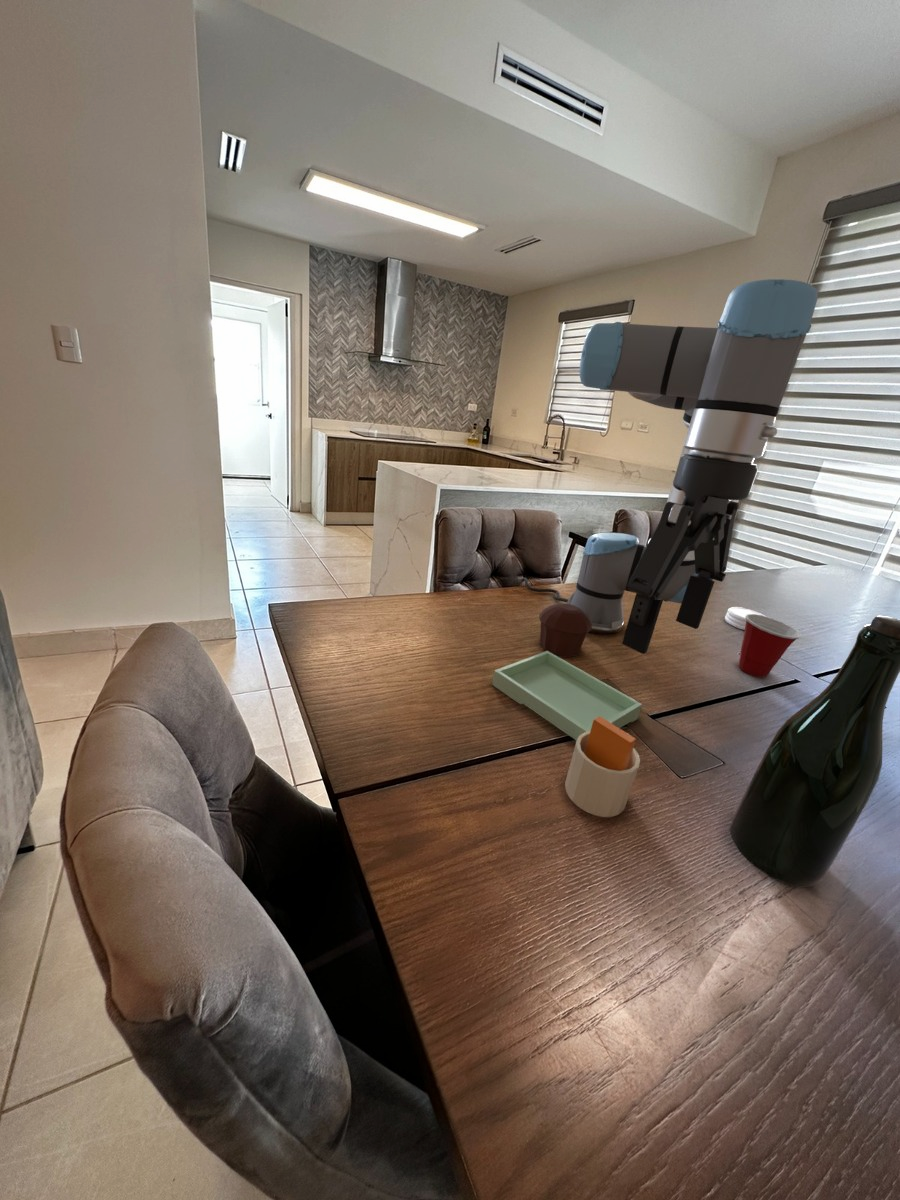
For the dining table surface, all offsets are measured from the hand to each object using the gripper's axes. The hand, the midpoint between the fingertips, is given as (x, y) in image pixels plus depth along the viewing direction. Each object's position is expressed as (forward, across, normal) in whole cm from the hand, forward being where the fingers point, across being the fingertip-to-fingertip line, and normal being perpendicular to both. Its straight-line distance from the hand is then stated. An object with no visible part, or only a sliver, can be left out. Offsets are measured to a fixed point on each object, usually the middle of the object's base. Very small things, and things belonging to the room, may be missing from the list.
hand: (662, 635), depth 58 cm
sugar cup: (+25, -3, +1) cm, 25 cm away
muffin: (+25, +29, +32) cm, 50 cm away
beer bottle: (+25, +9, -18) cm, 32 cm away
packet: (+24, -3, +1) cm, 25 cm away
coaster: (+24, +90, +13) cm, 94 cm away
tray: (+25, +12, +18) cm, 33 cm away
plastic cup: (+25, +62, +2) cm, 66 cm away
